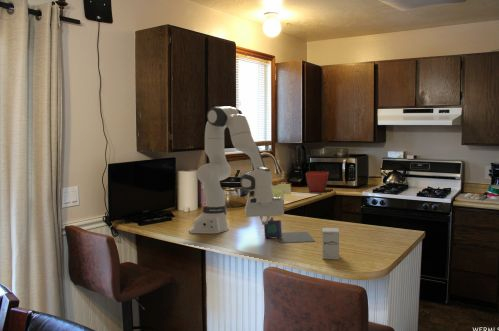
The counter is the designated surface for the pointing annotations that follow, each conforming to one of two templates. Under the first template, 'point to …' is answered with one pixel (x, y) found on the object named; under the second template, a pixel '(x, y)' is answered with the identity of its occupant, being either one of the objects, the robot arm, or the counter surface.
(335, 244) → the supplement box
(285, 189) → the slatted curved stool
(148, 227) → the counter surface
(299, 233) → the mat
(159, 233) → the counter surface
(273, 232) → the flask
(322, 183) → the plant pot
